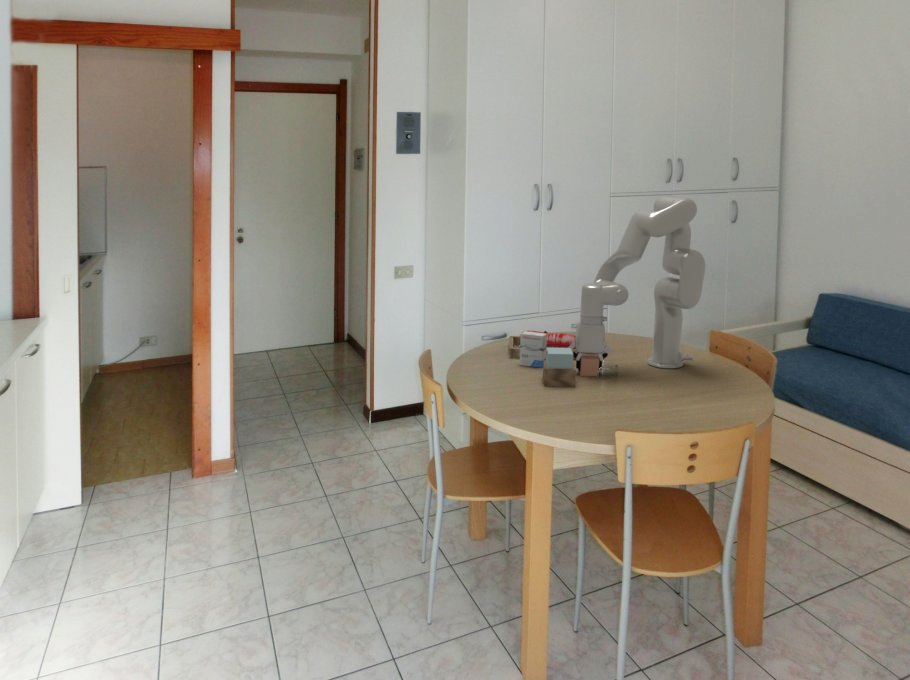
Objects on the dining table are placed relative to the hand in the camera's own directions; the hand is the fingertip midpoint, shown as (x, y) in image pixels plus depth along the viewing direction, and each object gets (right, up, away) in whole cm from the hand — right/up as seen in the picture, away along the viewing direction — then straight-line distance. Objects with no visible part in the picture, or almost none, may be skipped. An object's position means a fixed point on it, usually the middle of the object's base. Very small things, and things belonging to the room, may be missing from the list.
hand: (588, 370), depth 246 cm
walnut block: (-12, -4, -9) cm, 15 cm away
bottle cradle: (-9, +6, +27) cm, 29 cm away
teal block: (-12, +2, -10) cm, 16 cm away
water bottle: (-8, +6, +29) cm, 31 cm away
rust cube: (0, -1, 0) cm, 1 cm away
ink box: (-18, +1, +10) cm, 21 cm away
